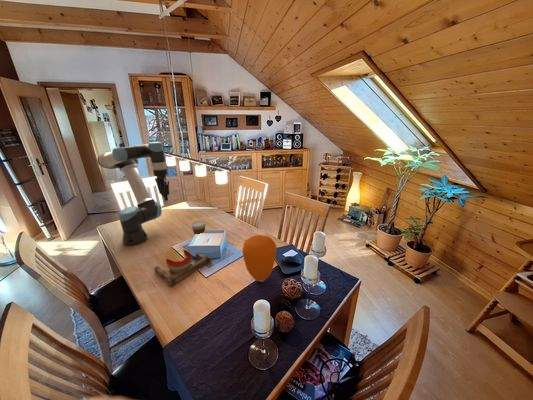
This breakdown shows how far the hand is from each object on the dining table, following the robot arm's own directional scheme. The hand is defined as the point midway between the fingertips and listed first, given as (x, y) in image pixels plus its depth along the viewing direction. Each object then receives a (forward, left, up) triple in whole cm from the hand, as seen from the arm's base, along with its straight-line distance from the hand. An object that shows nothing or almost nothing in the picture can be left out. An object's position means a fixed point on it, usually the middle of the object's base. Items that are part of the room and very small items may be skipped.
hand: (166, 204), depth 143 cm
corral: (+28, -12, -29) cm, 42 cm away
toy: (+29, -12, -29) cm, 43 cm away
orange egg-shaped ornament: (+70, +7, -29) cm, 76 cm away
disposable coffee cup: (+10, +14, -29) cm, 34 cm away
